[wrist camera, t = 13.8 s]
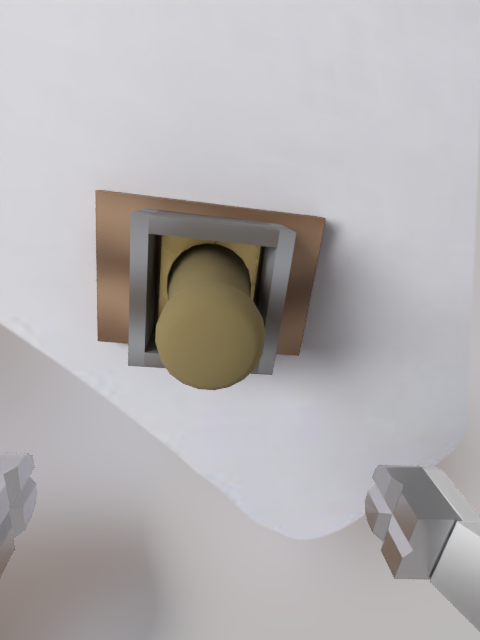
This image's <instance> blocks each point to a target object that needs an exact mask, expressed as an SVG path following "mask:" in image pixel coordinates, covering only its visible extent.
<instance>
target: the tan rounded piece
mask: <svg viewBox="0 0 480 640" xmlns="http://www.w3.org/2000/svg"><path fill="white" fill-rule="evenodd" d="M167 294H168V302H167V304H166V305H165V306H164V308H163V310H162V312H161V315H160V317H159V320H158V322H157V325H156V337H155V343H156V346H157V349H158V353H159V356H160V359H161V362H162V363H163V365H164V366H165V367H166V369H167V370H168V372H169V373H170V374H171V375H172V376H174V377H175V378H176V379H178V380H179V381H180V382H182V383H183V384H186V385H189V386H192V387H195V388H197V389H206V390H217V389H221V388H226V387H230V386H232V385H234V384H236V383H238V382H240V381H241V380H243V379H245V378H246V377H247V376H248V375H249V374H250V373H251V372H252V371H253V370H254V369H255V368H256V366H257V364H258V362H259V360H260V358H261V356H262V354H263V349H264V343H265V337H266V333H265V327H264V322H263V318H262V316H261V314H260V312H259V310H258V309H257V307H256V305H255V303H254V302H253V301H252V300H251V280H250V274H249V270H248V268H247V267H246V265H245V263H244V261H243V259H242V258H240V257H239V256H238V255H237V254H236V253H235V252H234V251H233V250H231V249H229V248H227V247H224V246H222V245H219V244H210V243H205V244H200V245H195V246H192V247H190V248H189V249H187V250H185V251H184V252H182V253H181V254H180V255H179V256H178V257H177V258H176V259H175V261H174V262H173V263H172V265H171V268H170V270H169V273H168V277H167Z"/></svg>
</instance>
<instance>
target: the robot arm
mask: <svg viewBox="0 0 480 640" xmlns="http://www.w3.org/2000/svg"><path fill="white" fill-rule="evenodd" d="M33 469H34V461H33V456H32V455H30V454H28V453H9V452H0V577H1V575H2V573H3V571H4V570H5V568H6V566H7V564H8V562H9V560H10V558H11V556H12V554H13V553H14V551H15V546H14V538H15V537H16V536H18V535H19V534H20V533H21V532H23V531H24V530H25V529H26V527H27V525H28V523H29V521H30V519H31V517H32V514H33V510H34V507H35V504H36V495H37V488H36V483H35V482H34V481H33V480H32V479H31V478H30V477H29V476H30V475H31V473H32V471H33ZM372 478H373V479H374V481H375V483H376V484H375V485H374V486H373V487H372V488H371V489H370V490H368V492H367V496H366V500H365V513H366V517H367V521H368V524H369V526H370V528H371V530H372V532H373V533H374V534H375V535H376V536H377V537H378V538H380V539H381V540H382V541H383V542H382V547H381V551H382V554H383V556H384V558H385V560H386V562H387V564H388V566H389V568H390V570H391V572H392V574H393V577H394V579H430V582H431V583H432V584H433V585H434V586H435V587H436V588H437V589H438V590H439V591H440V592H441V593H442V594H443V595H444V596H445V597H446V598H447V599H448V600H449V601H450V602H451V603H452V604H453V605H454V606H455V607H456V608H457V609H458V610H459V611H460V612H461V613H462V614H463V615H464V616H465V617H466V618H467V619H468V620H469V621H470V622H471V623H472V624H473V625H474V626H475V627H476V628H477V629H478V630H479V631H480V515H479V514H478V513H477V511H476V510H475V509H474V508H473V507H472V505H471V504H470V503H469V502H468V501H467V499H466V498H465V497H464V496H463V494H462V493H461V492H460V491H459V490H458V488H457V487H456V486H455V485H454V483H452V481H451V480H450V479H449V477H448V476H447V475H446V474H445V473H444V471H443V470H442V469H440V468H438V467H437V466H401V465H379V466H378V467H377V468H376V469H375V471H374V474H373V477H372Z"/></svg>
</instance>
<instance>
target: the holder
mask: <svg viewBox="0 0 480 640" xmlns="http://www.w3.org/2000/svg"><path fill="white" fill-rule="evenodd" d="M95 193H96V258H97V322H98V341H103V342H117V343H129V347H128V366H142V367H157V368H166V367H165V366H164V365H163V363H162V362H161V359H160V356H159V353H158V349H157V346H156V343H155V337H156V325H157V322H158V313H159V291H160V269H161V247H162V235H166V236H175V237H184V238H193V239H202V240H211V241H221V242H230V243H239V244H248V245H257V246H261V248H260V255H259V263H258V270H257V277H256V284H255V291H254V299H253V302H254V303H255V305H256V307H257V309H258V310H259V312H260V314H261V316H262V318H263V322H264V327H265V333H266V337H265V343H264V349H263V354H262V356H261V358H260V360H259V362H258V364H257V366H256V368H255V369H254V370H253V371H252V372H251V374H266V375H272V373H273V367H274V361H275V356H276V354H284V355H298V356H299V353H300V347H301V342H302V337H303V332H304V327H305V322H306V317H307V312H308V306H309V301H310V296H311V291H312V286H313V281H314V276H315V270H316V265H317V260H318V255H319V250H320V245H321V240H322V234H323V229H324V224H325V219H326V218H322V217H317V216H309V215H301V214H292V213H284V212H276V211H268V210H260V209H252V208H243V207H235V206H227V205H219V204H211V203H202V202H194V201H186V200H178V199H170V198H161V197H153V196H145V195H137V194H129V193H121V192H112V191H104V190H95Z"/></svg>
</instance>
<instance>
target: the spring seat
mask: <svg viewBox="0 0 480 640" xmlns="http://www.w3.org/2000/svg"><path fill="white" fill-rule="evenodd" d="M205 243H210V244H219V245H222V246H224V247H227V248H229V249H231V250H233V251H234V252H235V253H236V254H237V255H238V256H239V257H240V258H242V259H243V261H244V263H245V265H246V267H247V268H248V270H249V274H250V280H251V300H252V301H253V299H254V291H255V284H256V277H257V270H258V263H259V255H260V248H261V246H257V245H248V244H239V243H230V242H221V241H211V240H202V239H193V238H184V237H175V236H166V235H162V247H161V269H160V291H159V313H158V320H159V317H160V315H161V312H162V310H163V308H164V306H165V305H166V304H167V302H168V294H167V277H168V273H169V270H170V268H171V265H172V263H173V262H174V261H175V259H176V258H177V257H178V256H179V255H180V254H181V253H182V252H184V251H185V250H187V249H189V248H190V247H192V246H195V245H200V244H205Z"/></svg>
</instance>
